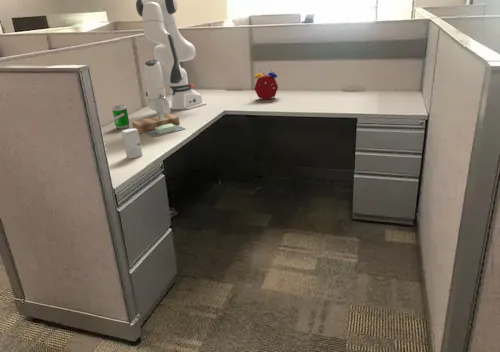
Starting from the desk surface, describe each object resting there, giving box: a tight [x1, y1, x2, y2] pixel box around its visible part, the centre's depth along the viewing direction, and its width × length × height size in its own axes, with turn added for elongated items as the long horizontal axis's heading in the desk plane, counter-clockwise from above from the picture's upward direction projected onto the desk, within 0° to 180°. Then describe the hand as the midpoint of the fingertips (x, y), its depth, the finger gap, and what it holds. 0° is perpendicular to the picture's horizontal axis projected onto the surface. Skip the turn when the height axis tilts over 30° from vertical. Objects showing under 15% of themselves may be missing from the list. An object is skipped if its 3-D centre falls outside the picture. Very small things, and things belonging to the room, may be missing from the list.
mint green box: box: [155, 124, 176, 134], centre depth 216 cm, size 9×6×2 cm, turn 124°
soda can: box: [111, 104, 131, 130], centre depth 229 cm, size 8×8×12 cm
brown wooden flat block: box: [131, 113, 181, 134], centre depth 226 cm, size 22×12×4 cm, turn 124°
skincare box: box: [121, 127, 143, 160], centre depth 182 cm, size 6×4×12 cm
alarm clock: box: [253, 66, 279, 101], centre depth 262 cm, size 15×9×20 cm, turn 84°
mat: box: [144, 124, 186, 138], centre depth 218 cm, size 18×11×1 cm, turn 124°
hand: (161, 120), depth 218 cm, fingers closed
